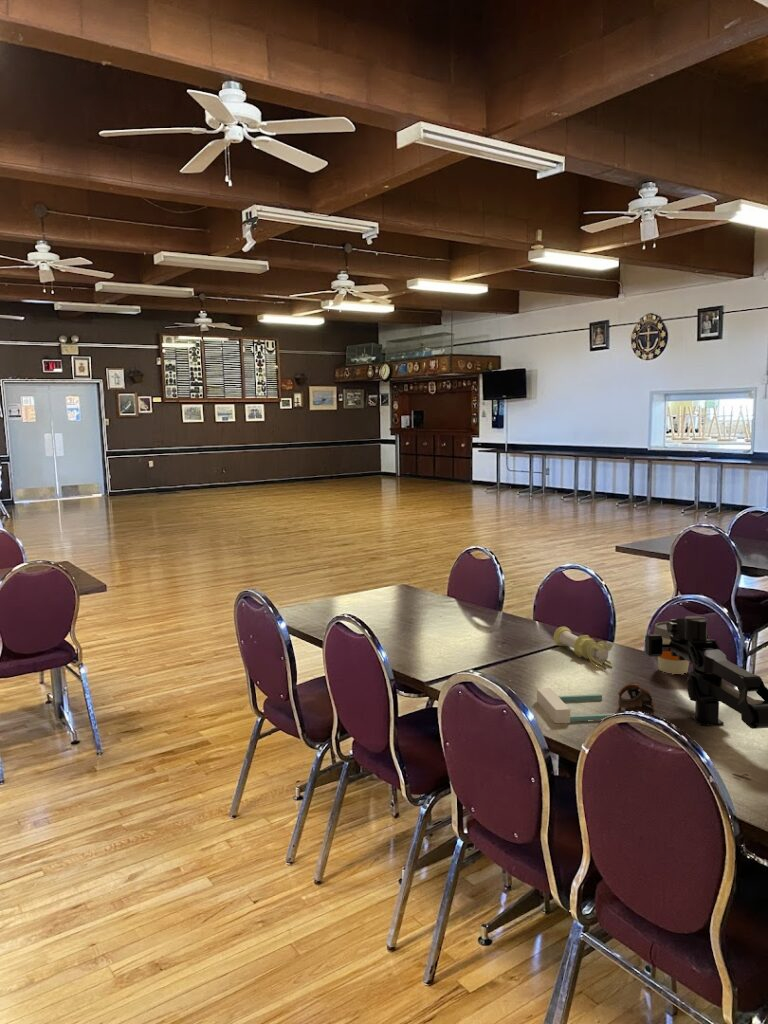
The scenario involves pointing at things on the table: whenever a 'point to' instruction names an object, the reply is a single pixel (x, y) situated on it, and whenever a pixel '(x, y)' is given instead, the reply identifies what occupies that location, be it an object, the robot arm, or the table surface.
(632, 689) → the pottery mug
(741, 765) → the table surface
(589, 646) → the trophy
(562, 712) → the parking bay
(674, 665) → the reusable coffee cup
